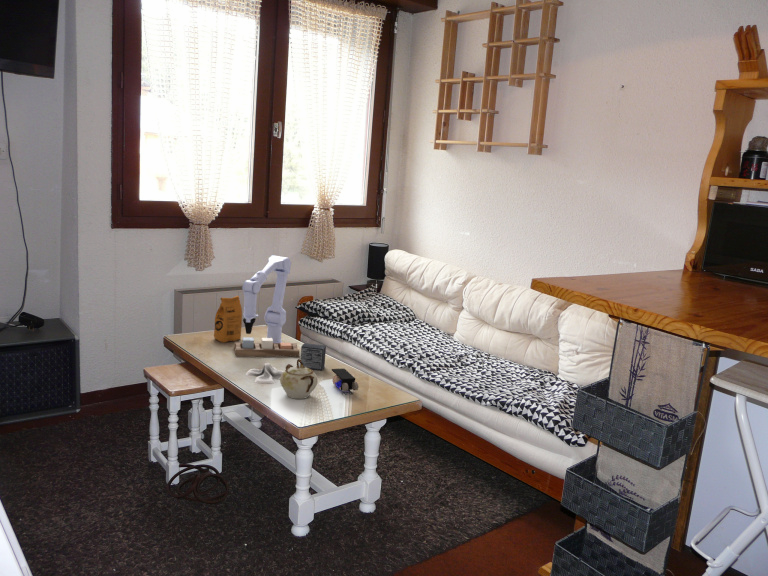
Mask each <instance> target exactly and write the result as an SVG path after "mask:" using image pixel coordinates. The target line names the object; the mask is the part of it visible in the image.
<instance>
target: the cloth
mask: <svg viewBox="0 0 768 576" xmlns="http://www.w3.org/2000/svg"><path fill="white" fill-rule="evenodd" d="M284 371H285V370H280V369H277V367H274V366H272V365H271V363H270V362H265V363H264V364H263V366H262V368H261V369H258V368H251V369H248V371H246V373H245V376H247V377H249V376H254V377H255V380H254V382H253V383H255V384H276V381H275V380H274V379H275V378H277V380H278V381H280V377H281V375H282V373H283V372H284Z"/></svg>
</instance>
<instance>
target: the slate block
mask: <svg viewBox="0 0 768 576" xmlns="http://www.w3.org/2000/svg"><path fill="white" fill-rule="evenodd" d="M254 343H255V339H254V337H248V336H247V337H244V336H243V337H242V347H243V348H250V349H253V347H254Z"/></svg>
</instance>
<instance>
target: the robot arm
mask: <svg viewBox="0 0 768 576" xmlns="http://www.w3.org/2000/svg"><path fill="white" fill-rule="evenodd" d="M291 266H292V261H291V259H290V257H287V256H286V257H285V256H281V255H280V256H279V255H275V254H272V255H270V257H268V261H267V264H266V265H265V266H264V268H263V269H262V270H259V271H257V272H255V274H254V275H252V277H251V278H250V279H246V280H245V281H244V282H243V284H242V287H241V289H242V291H243V293H242V294H243V296H244V297H243V298H244V300H243V313H242V317H243V318H242V321H243V322H242V323H243V324H244V330H245V334H246V335H251V334H252V331H253V326H254V324H255V322H256V318H258V317H259V314H257V303H258V302H257V300H258V299H257V298H258V293H259V292H260V291H261V288H262V285H263V284H264V283H265V282H266V281H267V279H268V276H269V275H270V274H271V273H273V272H275V274H276V279H275V286H274V292H273V296H272V297H273V298H272V302H271V303H272V304H271V305H270V306H269V307H266V311H265V314H264V316H263V318H264V322H265V323H266V325H267V327H266V328H267V331H266V338H272V339H273V343H283V341H282V330H283V329H282V328H283V326H284V325H285V324H286V322H287V310H286V309H284V308H283V304H284V297H285V294H286V285H287V281H288V276H289V274H290V273H291Z"/></svg>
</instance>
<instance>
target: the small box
mask: <svg viewBox="0 0 768 576" xmlns="http://www.w3.org/2000/svg"><path fill="white" fill-rule="evenodd" d="M326 348H327V345H323V344H314V343H306V342H304V343H303V344H302V345H301V348H300V349H301V350H300V360H301V362H302V363H303V366H304V367H307V368H309V369H311V370H313V371H321V372H322V371H323V370H324V368H325V365H326V353H327V352H326V350H327V349H326ZM299 366H301V364H300V363H299Z"/></svg>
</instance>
